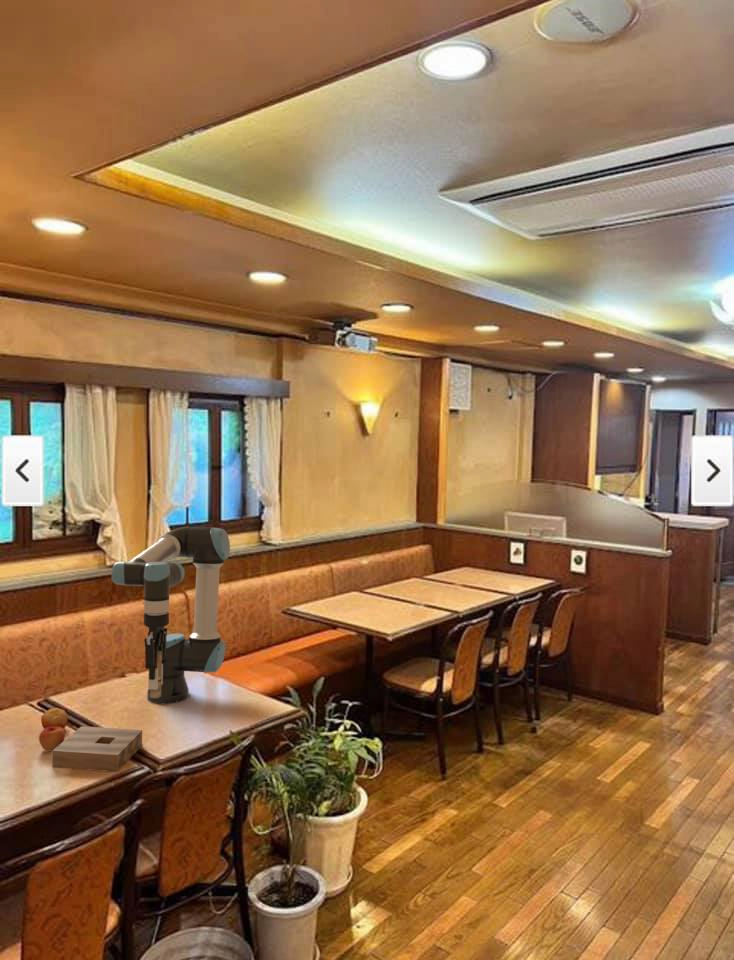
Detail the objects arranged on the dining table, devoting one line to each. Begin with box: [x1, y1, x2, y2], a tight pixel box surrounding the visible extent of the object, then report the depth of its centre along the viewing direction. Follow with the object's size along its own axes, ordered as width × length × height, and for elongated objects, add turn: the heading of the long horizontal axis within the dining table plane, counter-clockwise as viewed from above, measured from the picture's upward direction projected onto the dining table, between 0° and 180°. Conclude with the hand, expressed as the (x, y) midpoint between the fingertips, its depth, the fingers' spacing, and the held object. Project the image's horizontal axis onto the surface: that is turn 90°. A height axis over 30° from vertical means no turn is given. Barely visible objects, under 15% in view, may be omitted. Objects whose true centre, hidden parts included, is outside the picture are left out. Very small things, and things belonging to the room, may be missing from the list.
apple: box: [38, 725, 66, 752], centre depth 219 cm, size 7×7×8 cm
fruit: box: [40, 707, 69, 730], centre depth 233 cm, size 8×8×8 cm
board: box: [51, 725, 143, 773], centre depth 215 cm, size 18×20×5 cm
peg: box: [150, 651, 162, 698], centre depth 219 cm, size 4×4×14 cm
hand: (155, 686), depth 219 cm, fingers closed on peg, 3 cm apart
